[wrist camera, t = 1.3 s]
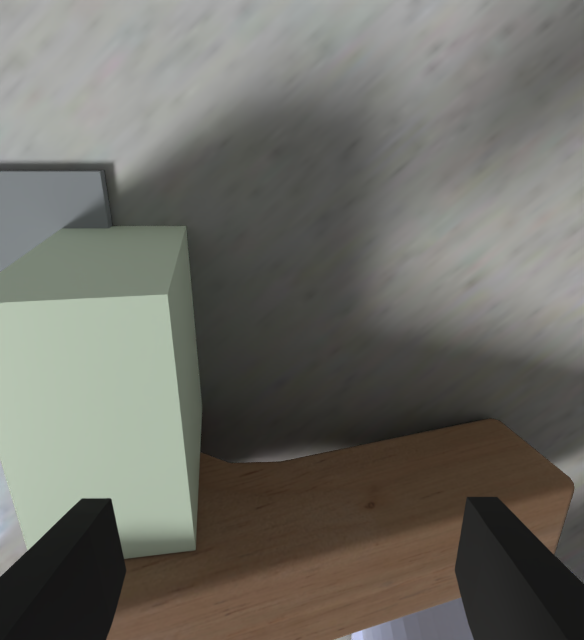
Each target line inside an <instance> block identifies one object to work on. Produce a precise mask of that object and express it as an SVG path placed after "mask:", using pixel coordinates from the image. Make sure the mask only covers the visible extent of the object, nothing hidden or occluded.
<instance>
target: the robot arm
mask: <svg viewBox="0 0 584 640" xmlns="http://www.w3.org/2000/svg"><path fill="white" fill-rule="evenodd" d="M125 574H126V566H125V561H124V556H123V552H122V547H121V542H120V537H119V533H118V528H117V523H116V518H115V514H114V509H113V504H112V499H111V498H82V499H81V500H80V501H78V502H77V503H76V504H75V505H74V506H73V507H72V508H71V509H70V510H69V511H68V512H67V513H66V514H65V515H64V516H63V517H62V518H61V519H60V520H59V521H58V522H57V523H56V524H55V525H54V526H52V527H51V528H50V529H49V530H48V531H47V532H46V533H45V534H44V535H43V536H42V537H41V538H40V539H39V540H38V541H37V542H36V543H35V544H34V545H33V546H32V547H31V548H30V549H29V550H28V551H27V552H26V553H25V554H24V555H23V556H22V557H21V558H20V559H19V560H18V561H17V562H15V563H14V564H13V565H12V566H11V567H10V568H9V569H8V570H7V571H6V572H5V573H4V574H3V575H2V576H1V577H0V640H106V639H107V636H108V634H109V631H110V628H111V626H112V622H113V619H114V615H115V612H116V608H117V605H118V601H119V597H120V593H121V590H122V586H123V582H124V578H125ZM455 574H456V578H457V582H458V586H459V590H460V594H461V598H458V599H455V600H452V601H449V602H446V603H443V604H440V605H437V606H434V607H431V608H428V609H425V610H422V611H419V612H416V613H413V614H410V615H407V616H404V617H401V618H398V619H395V620H392V621H389V622H385V623H382V624H379V625H376V626H373V627H370V628H367V629H364V630H361V631H358V632H355V633H352V634H351V640H584V584H583V583H582V582H581V581H580V580H579V579H578V578H577V577H576V576H575V575H574V574H573V573H572V572H571V571H570V570H569V569H568V568H567V567H566V566H565V565H564V564H563V563H562V562H561V561H560V560H559V559H558V558H557V557H556V556H555V555H554V554H553V553H552V552H551V551H550V550H549V549H548V548H547V547H546V546H545V545H544V544H543V543H542V542H541V541H540V540H539V539H538V538H537V537H536V536H535V535H534V534H533V533H532V532H531V531H530V530H529V529H528V528H527V527H526V526H525V525H524V524H523V523H522V522H521V520H520V519H519V518H518V517H517V516H516V515H515V514H514V513H513V512H512V511H511V510H510V509H509V508H508V507H507V506H506V505H505V504H504V503H503V502H502V501H501V500H500V499H499V498H498V497H467V498H466V504H465V510H464V516H463V522H462V528H461V534H460V540H459V546H458V552H457V558H456V564H455Z"/></svg>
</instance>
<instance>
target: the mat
mask: <svg viewBox="0 0 584 640" xmlns="http://www.w3.org/2000/svg"><path fill="white" fill-rule="evenodd" d="M110 227H112V220H111V213H110V206H109V200H108V193H107V186H106V180H105V173H104V170H0V272H1V271H3V270H4V269H5V268H7V267H8V266H10V265H11V264H12V263H14V262H15V261H17V260H18V259H19V258H21V257H22V256H24V255H25V254H26V253H28V252H29V251H31V250H32V249H33V248H35V247H36V246H38V245H39V244H40V243H42V242H43V241H45V240H46V239H48V238H49V237H50V236H52V235H53V234H55V233H56V232H57V231H59V230H60V229H62V228H110Z"/></svg>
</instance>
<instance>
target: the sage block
mask: <svg viewBox="0 0 584 640" xmlns="http://www.w3.org/2000/svg"><path fill="white" fill-rule="evenodd" d="M201 423H202V399H201V388H200V376H199V365H198V354H197V342H196V331H195V320H194V309H193V297H192V286H191V275H190V263H189V252H188V241H187V229H186V226H112V227H110V228H62V229H60V230H59V231H57V232H56V233H55V234H53V235H52V236H50V237H49V238H48V239H46V240H45V241H43V242H42V243H40V244H39V245H38V246H36V247H35V248H33V249H32V250H31V251H29V252H28V253H26V254H25V255H24V256H22V257H21V258H19V259H18V260H17V261H15V262H14V263H12V264H11V265H10V266H8V267H7V268H5V269H4V270H3V271H1V272H0V460H1V464H2V467H3V470H4V474H5V477H6V480H7V484H8V487H9V490H10V494H11V497H12V500H13V504H14V507H15V510H16V514H17V517H18V520H19V524H20V527H21V530H22V534H23V537H24V540H25V544H26V547H27V551H28V550H29V549H30V548H31V547H32V546H33V545H34V544H35V543H36V542H37V541H38V540H39V539H40V538H41V537H42V536H43V535H44V534H45V533H46V532H47V531H48V530H49V529H50V528H51V527H52V526H54V525H55V524H56V523H57V522H58V521H59V520H60V519H61V518H62V517H63V516H64V515H65V514H66V513H67V512H68V511H69V510H70V509H71V508H72V507H73V506H74V505H75V504H76V503H77V502H78V501H80V500H81V499H82V498H111V499H112V504H113V509H114V514H115V518H116V523H117V528H118V533H119V537H120V542H121V547H122V552H123V556H124V559H127V558H136V557H144V556H152V555H160V554H169V553H177V552H185V551H193V550H196V532H197V510H198V488H199V466H200V445H201Z"/></svg>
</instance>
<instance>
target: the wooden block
mask: <svg viewBox="0 0 584 640" xmlns="http://www.w3.org/2000/svg"><path fill="white" fill-rule="evenodd" d="M573 493H574V483H573V482H572V480H571V479H570V477H568V476H567V475H566V474H565V473H563V472H562V471H561V470H560V469H559V468H557V467H556V466H555V465H554V464H552V463H551V462H550V461H549V460H547V459H546V458H545V457H544V456H543V455H541V454H540V453H539V452H538V451H536V450H535V449H534V448H533V447H531V446H530V445H529V444H528V443H527V442H525V441H524V440H523V439H522V438H520V437H519V436H518V435H517V434H515V433H514V432H513V431H512V430H510V429H509V428H508V427H507V426H506V425H504V424H503V423H502V422H501V421H499V420H496V419H491V418H489V419H484V420H479V421H474V422H470V423H465V424H460V425H455V426H450V427H445V428H441V429H436V430H431V431H426V432H421V433H416V434H412V435H407V436H402V437H397V438H392V439H387V440H383V441H378V442H373V443H368V444H363V445H358V446H353V447H349V448H344V449H339V450H334V451H329V452H324V453H320V454H315V455H310V456H305V457H300V458H295V459H291V460H286V461H281V462H247V463H228V462H226V461H223V460H220V459H218V458H215V457H212V456H210V455H207V454H204V453H201V452H200V466H199V488H198V510H197V532H196V550H193V551H185V552H177V553H169V554H160V555H152V556H144V557H136V558H127V559H124V561H125V566H126V574H125V578H124V582H123V586H122V590H121V593H120V597H119V601H118V605H117V608H116V612H115V615H114V619H113V622H112V626H111V628H110V631H109V634H108V636H107V639H106V640H334V639H337V638H340V637H343V636H346V635H349V634H352V633H355V632H358V631H361V630H364V629H367V628H370V627H373V626H376V625H379V624H382V623H385V622H389V621H392V620H395V619H398V618H401V617H404V616H407V615H410V614H413V613H416V612H419V611H422V610H425V609H428V608H431V607H434V606H437V605H440V604H443V603H446V602H449V601H452V600H455V599H458V598H461V594H460V590H459V586H458V582H457V578H456V574H455V564H456V558H457V552H458V546H459V540H460V534H461V528H462V522H463V516H464V510H465V504H466V498H467V497H498V498H499V499H500V500H501V501H502V502H503V503H504V504H505V505H506V506H507V507H508V508H509V509H510V510H511V511H512V512H513V513H514V514H515V515H516V516H517V517H518V518H519V519H520V520H521V522H522V523H523V524H524V525H525V526H526V527H527V528H528V529H529V530H530V531H531V532H532V533H533V534H534V535H535V536H536V537H537V538H538V539H539V540H540V541H541V542H542V543H543V544H544V545H545V546H546V547H547V548H548V549H549V550H550V551H551V552H552V553H553V554H555V551H556V547H557V544H558V541H559V538H560V535H561V531H562V528H563V525H564V522H565V518H566V515H567V512H568V509H569V506H570V502H571V499H572V496H573Z"/></svg>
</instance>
